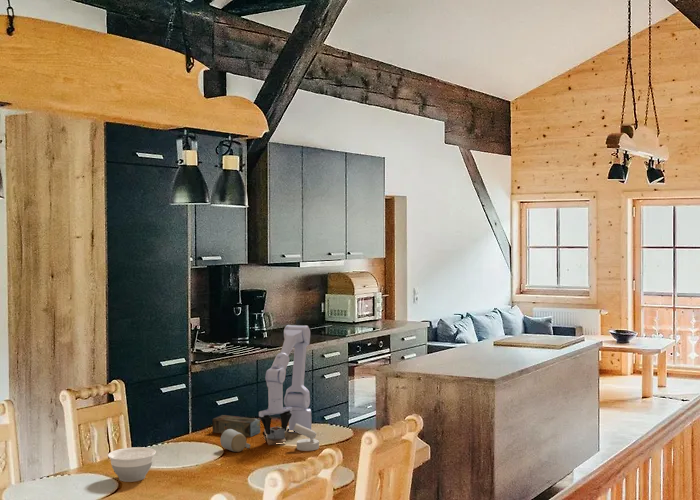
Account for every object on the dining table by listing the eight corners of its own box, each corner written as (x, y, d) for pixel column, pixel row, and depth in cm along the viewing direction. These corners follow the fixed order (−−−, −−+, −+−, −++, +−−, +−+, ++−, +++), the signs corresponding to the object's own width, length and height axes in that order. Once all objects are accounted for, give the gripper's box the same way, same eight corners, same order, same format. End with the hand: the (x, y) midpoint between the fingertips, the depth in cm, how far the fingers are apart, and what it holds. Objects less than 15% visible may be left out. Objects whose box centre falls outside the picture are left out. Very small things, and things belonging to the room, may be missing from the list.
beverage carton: (250, 437, 342) (250, 421, 342) (211, 433, 350) (211, 417, 350) (260, 433, 349) (260, 417, 349) (221, 429, 357) (221, 413, 357)
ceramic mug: (232, 454, 316) (232, 433, 315) (219, 450, 322) (219, 430, 321) (255, 449, 323) (255, 429, 323) (242, 445, 329) (242, 426, 329)
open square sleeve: (277, 436, 338) (277, 426, 337) (284, 438, 334) (284, 428, 334) (267, 438, 334) (267, 428, 334) (274, 440, 330) (274, 430, 330)
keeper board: (280, 431, 351) (280, 417, 351) (286, 444, 330) (285, 429, 330) (264, 431, 350) (263, 418, 350) (268, 445, 328) (268, 430, 328)
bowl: (137, 468, 298) (137, 444, 297) (165, 476, 288) (165, 451, 287) (98, 479, 285) (98, 454, 285) (126, 488, 275) (126, 462, 275)
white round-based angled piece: (293, 420, 328) (319, 420, 328) (294, 445, 328) (319, 444, 328) (291, 425, 320) (318, 425, 319) (292, 450, 320) (318, 450, 320)
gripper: (285, 394, 341) (285, 427, 342) (254, 399, 332) (255, 433, 333) (295, 397, 336) (295, 430, 336) (264, 402, 327) (264, 436, 327)
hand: (275, 432), depth 334 cm, fingers open, 7 cm apart
